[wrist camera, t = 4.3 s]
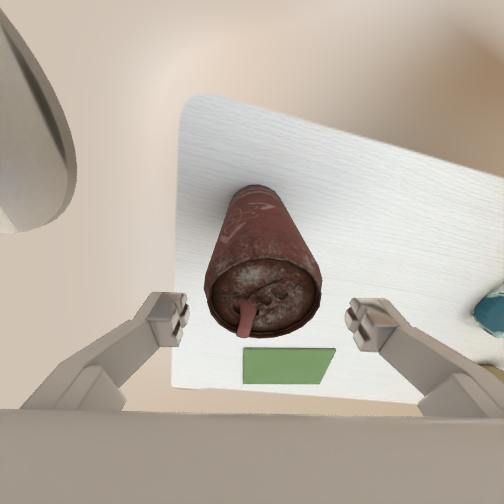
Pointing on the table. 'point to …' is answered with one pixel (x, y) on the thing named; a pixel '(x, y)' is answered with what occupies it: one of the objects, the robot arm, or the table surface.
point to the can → (261, 269)
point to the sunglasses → (491, 314)
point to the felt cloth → (285, 365)
